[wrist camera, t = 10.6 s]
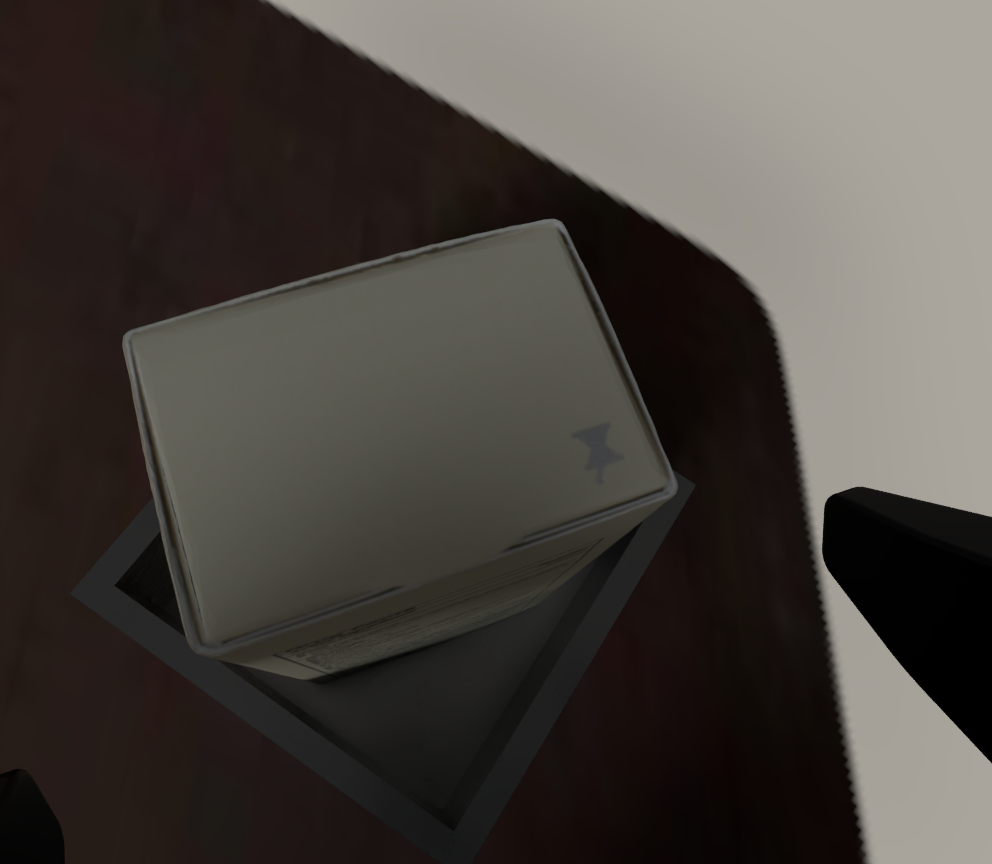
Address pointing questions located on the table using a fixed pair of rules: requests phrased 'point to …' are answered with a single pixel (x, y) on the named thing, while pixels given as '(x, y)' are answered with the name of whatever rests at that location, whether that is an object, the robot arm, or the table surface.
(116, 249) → the table surface
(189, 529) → the skincare box
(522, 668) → the grey open tray
